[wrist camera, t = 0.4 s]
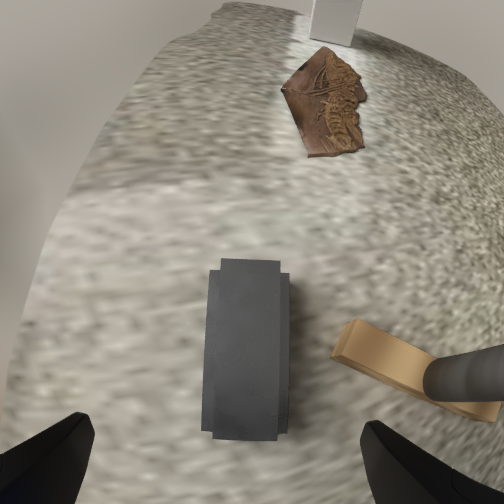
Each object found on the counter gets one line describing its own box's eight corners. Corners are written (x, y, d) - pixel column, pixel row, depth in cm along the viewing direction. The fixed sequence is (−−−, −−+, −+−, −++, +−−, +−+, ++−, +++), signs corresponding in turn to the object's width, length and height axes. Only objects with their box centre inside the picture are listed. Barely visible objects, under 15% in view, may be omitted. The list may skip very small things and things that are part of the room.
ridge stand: (283, 428, 21) (293, 440, 16) (204, 426, 20) (196, 437, 16) (285, 281, 25) (294, 261, 21) (212, 277, 25) (206, 257, 21)
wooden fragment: (361, 174, 30) (364, 168, 29) (260, 147, 31) (260, 140, 30) (364, 60, 40) (366, 55, 39) (299, 43, 41) (299, 37, 40)
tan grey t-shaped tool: (486, 390, 21) (594, 374, 9) (474, 423, 20) (584, 422, 7) (346, 321, 24) (446, 260, 11) (328, 360, 23) (425, 337, 10)
